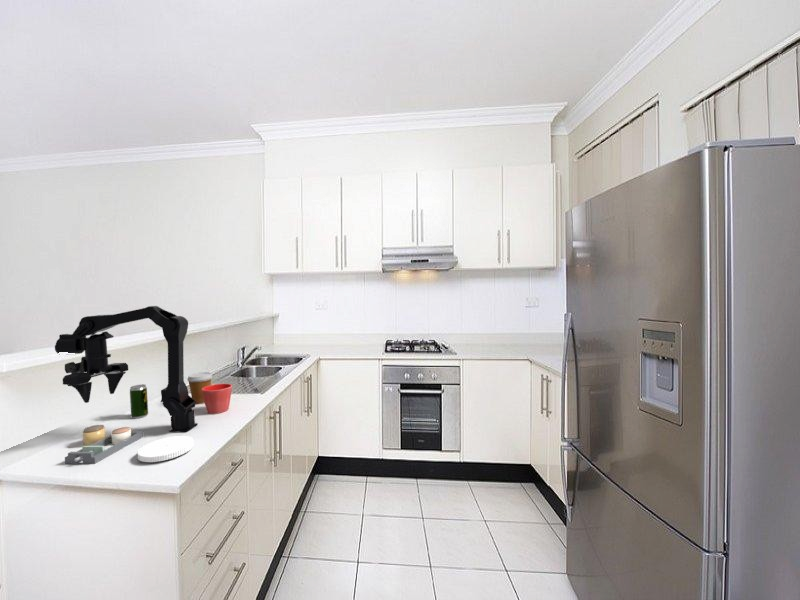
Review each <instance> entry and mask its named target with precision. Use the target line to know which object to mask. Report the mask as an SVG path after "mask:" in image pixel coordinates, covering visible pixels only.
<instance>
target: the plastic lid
mask: <svg viewBox="0 0 800 600" xmlns="http://www.w3.org/2000/svg"><path fill="white" fill-rule="evenodd" d="M193 447H194V438H193V437H191V436H189V435H188V436H187V435H175V436H174V435H173V436H168V437H164V438H160V439H157V440H154V441H151V442H149V443H146V444H144V445H142V446H141V448H139V449H138V450H137V459H138V461H140V462H142V463H157V462H162V461H168V460H171V459H174V458H177V457H179V456H182V455H184V454H186V453H188V452H189V451H190V450H192V449H193Z"/></svg>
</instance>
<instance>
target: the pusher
mask: <svg viewBox="0 0 800 600" xmlns="http://www.w3.org/2000/svg"><path fill="white" fill-rule="evenodd" d="M81 449H82V452H94V456H95V455H97V454H99V453H101V452H102V451H104V450H106V448H105V445H104V446H83V445H82V447H81ZM78 460H80V461H81V460H83V455H81V456H79V457H77V458H75V459H74V461H75V462H76V461H78Z"/></svg>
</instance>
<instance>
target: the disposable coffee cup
mask: <svg viewBox="0 0 800 600" xmlns="http://www.w3.org/2000/svg"><path fill="white" fill-rule="evenodd" d="M212 378H213V375H212V373H211V372H207V371H204V372H198V373H192V374H188V377H187V378H186V380H187V381H188V385H189V391H190V395H191V396H190V397H191V398H193V399H194V400H195V401H196V405H203V404H205V402H204V398H203V394H202V388H204V387H207V386H210V385H212V384H211V383H212Z"/></svg>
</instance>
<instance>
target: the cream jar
mask: <svg viewBox="0 0 800 600" xmlns="http://www.w3.org/2000/svg"><path fill="white" fill-rule="evenodd" d="M131 431H132V429H131V427H129V426H124V427H123V426H122V427H118V428H114V429H113V430H112V431H111V434H110V435H111V437H112V442H111V445H112V446H114V445H116V444H118V443H120V442H121V441H123V440H125V439H127V438H129V437H131Z"/></svg>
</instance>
